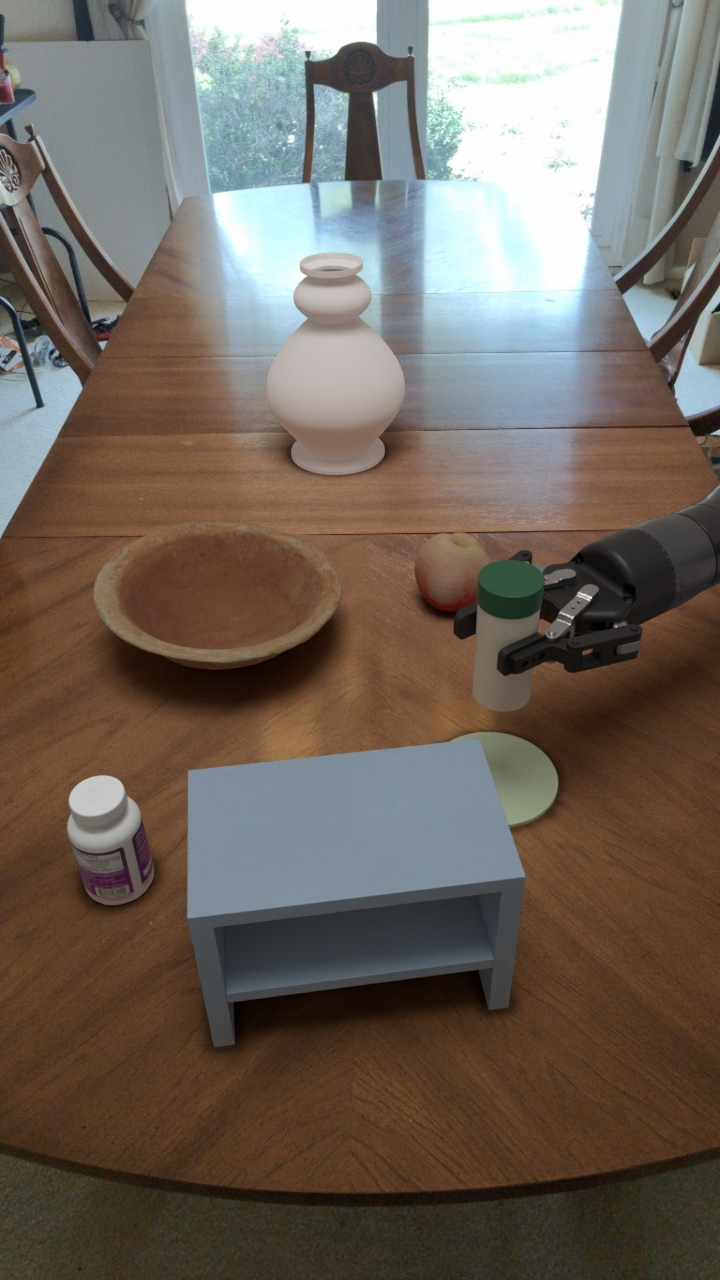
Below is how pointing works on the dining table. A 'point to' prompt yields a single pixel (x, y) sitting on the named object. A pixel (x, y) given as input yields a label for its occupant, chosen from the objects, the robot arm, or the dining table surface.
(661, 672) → the dining table surface
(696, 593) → the robot arm
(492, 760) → the mat
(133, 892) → the pill bottle
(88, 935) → the dining table surface
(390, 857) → the shelf
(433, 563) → the fruit
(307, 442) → the decorative vase
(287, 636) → the bowl
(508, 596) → the spice bottle
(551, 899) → the dining table surface
